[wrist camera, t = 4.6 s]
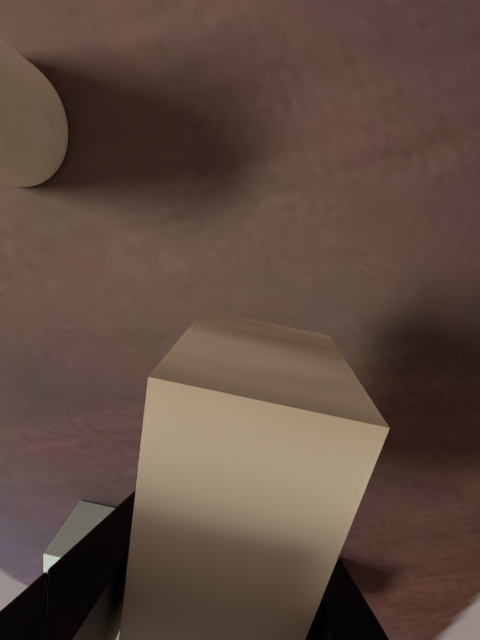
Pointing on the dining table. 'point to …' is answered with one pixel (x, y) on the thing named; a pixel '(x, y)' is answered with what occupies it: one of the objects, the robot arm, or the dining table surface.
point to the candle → (28, 123)
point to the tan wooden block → (245, 482)
